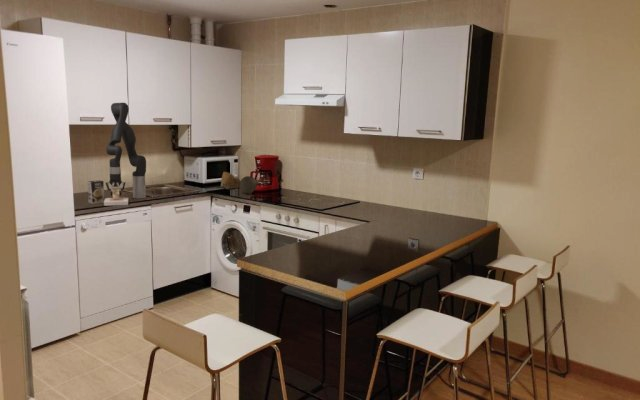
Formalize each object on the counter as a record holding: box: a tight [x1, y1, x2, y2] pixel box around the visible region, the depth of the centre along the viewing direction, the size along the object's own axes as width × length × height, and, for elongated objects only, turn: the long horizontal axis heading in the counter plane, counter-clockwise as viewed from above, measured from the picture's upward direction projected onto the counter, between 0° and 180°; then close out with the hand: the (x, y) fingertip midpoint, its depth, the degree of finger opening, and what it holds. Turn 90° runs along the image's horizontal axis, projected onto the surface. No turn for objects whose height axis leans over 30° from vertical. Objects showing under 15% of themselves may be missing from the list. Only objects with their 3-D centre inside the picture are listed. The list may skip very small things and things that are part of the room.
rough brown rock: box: [220, 171, 241, 190], centre depth 439 cm, size 23×17×15 cm
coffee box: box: [87, 179, 105, 205], centre depth 355 cm, size 9×6×16 cm
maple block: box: [112, 188, 121, 198], centre depth 356 cm, size 4×4×6 cm
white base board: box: [103, 196, 129, 206], centre depth 357 cm, size 16×16×3 cm
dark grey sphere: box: [239, 175, 258, 195], centre depth 413 cm, size 14×14×15 cm
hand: (116, 195), depth 356 cm, fingers closed on maple block, 4 cm apart
